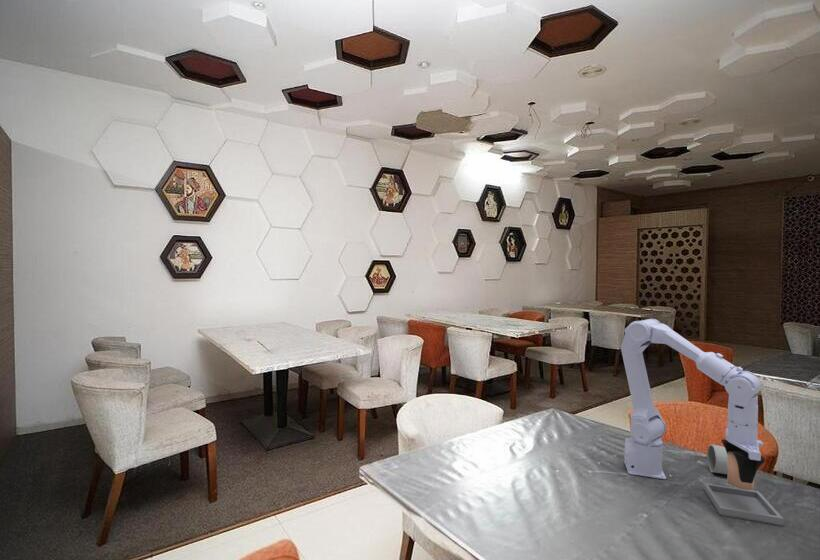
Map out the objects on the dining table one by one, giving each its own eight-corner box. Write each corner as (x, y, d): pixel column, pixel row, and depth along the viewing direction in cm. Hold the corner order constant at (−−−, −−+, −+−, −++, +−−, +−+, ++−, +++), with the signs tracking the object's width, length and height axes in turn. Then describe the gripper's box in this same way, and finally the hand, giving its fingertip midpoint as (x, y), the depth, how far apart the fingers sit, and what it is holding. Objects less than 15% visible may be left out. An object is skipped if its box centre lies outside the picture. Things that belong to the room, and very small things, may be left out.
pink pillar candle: (732, 487, 98) (732, 459, 98) (723, 477, 103) (723, 450, 103) (758, 491, 97) (758, 462, 97) (748, 480, 102) (748, 453, 102)
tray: (720, 515, 97) (720, 508, 97) (703, 489, 108) (703, 482, 108) (783, 526, 93) (783, 518, 92) (758, 498, 104) (758, 491, 104)
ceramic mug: (750, 482, 111) (751, 454, 111) (715, 477, 114) (715, 450, 114) (734, 465, 121) (735, 440, 121) (702, 461, 124) (702, 436, 124)
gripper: (777, 435, 91) (776, 494, 92) (749, 413, 105) (747, 465, 105) (739, 431, 94) (738, 488, 94) (716, 410, 107) (715, 460, 108)
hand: (741, 476), depth 100 cm, fingers closed on pink pillar candle, 5 cm apart
